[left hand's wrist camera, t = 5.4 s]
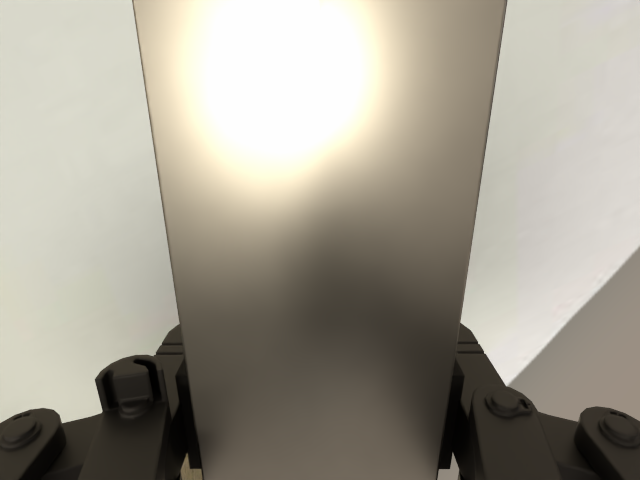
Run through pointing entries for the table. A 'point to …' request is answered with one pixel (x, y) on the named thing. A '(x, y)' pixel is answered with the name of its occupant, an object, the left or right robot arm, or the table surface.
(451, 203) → the bar
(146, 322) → the table surface
